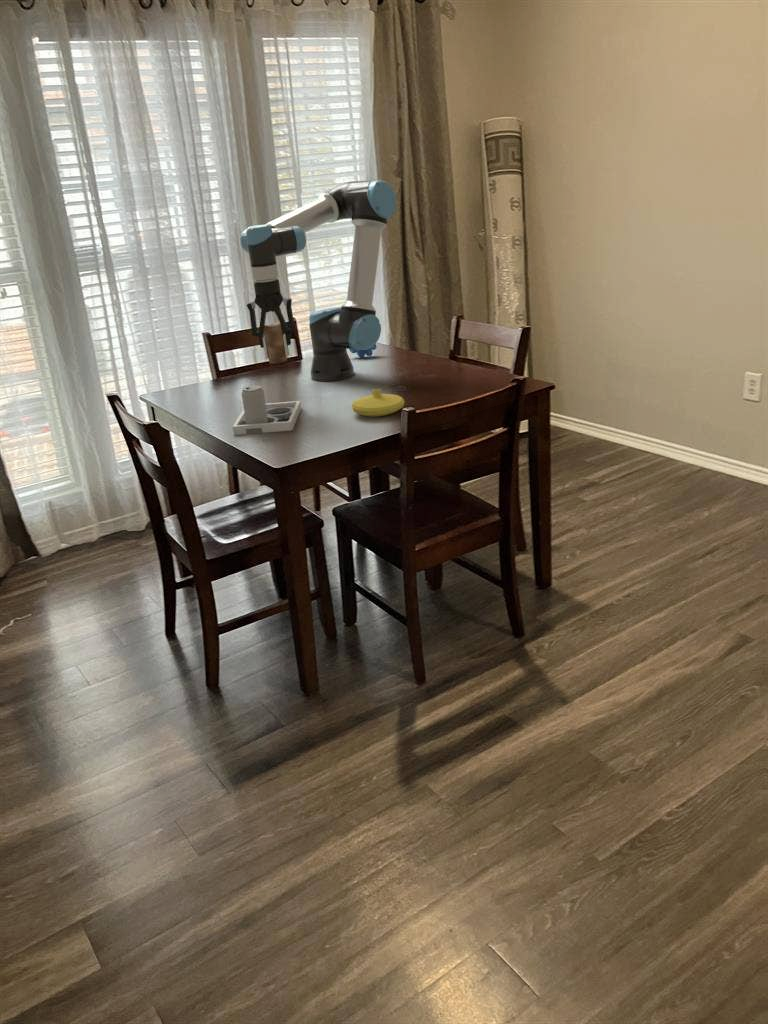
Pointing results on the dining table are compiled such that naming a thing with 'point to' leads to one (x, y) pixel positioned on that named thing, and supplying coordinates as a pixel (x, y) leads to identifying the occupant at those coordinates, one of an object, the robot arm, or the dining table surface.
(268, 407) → the white tray
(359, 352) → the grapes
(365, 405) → the yellow lid
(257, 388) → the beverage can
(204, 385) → the dining table surface
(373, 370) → the dining table surface
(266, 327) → the brown cylinder
